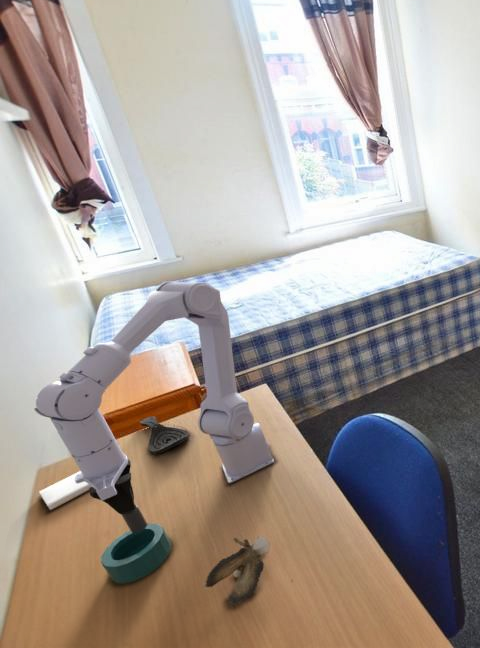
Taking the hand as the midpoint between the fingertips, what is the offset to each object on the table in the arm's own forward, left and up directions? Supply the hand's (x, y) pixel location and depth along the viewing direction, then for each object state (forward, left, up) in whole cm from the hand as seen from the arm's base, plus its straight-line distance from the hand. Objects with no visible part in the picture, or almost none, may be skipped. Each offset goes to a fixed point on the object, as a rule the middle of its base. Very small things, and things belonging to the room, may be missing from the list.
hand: (127, 506), depth 83 cm
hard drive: (+11, -34, -11) cm, 37 cm away
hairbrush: (-5, -42, -11) cm, 43 cm away
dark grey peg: (0, 0, -5) cm, 5 cm away
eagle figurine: (-13, +20, -11) cm, 26 cm away
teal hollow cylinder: (+1, +2, -11) cm, 11 cm away
